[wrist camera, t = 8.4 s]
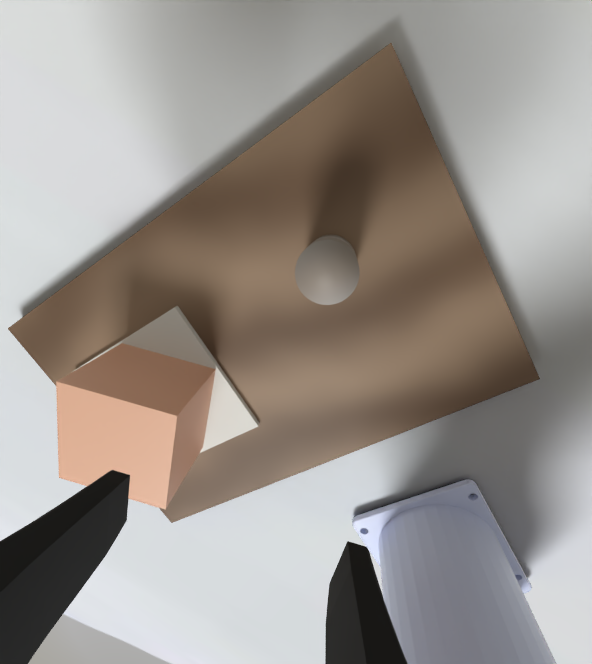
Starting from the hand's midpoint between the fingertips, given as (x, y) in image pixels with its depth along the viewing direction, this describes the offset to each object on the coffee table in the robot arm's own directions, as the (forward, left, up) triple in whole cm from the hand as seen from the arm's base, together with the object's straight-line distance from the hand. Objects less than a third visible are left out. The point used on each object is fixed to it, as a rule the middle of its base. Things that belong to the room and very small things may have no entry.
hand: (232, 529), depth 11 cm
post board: (+3, 0, -9) cm, 10 cm away
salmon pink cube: (+3, +6, -8) cm, 11 cm away
